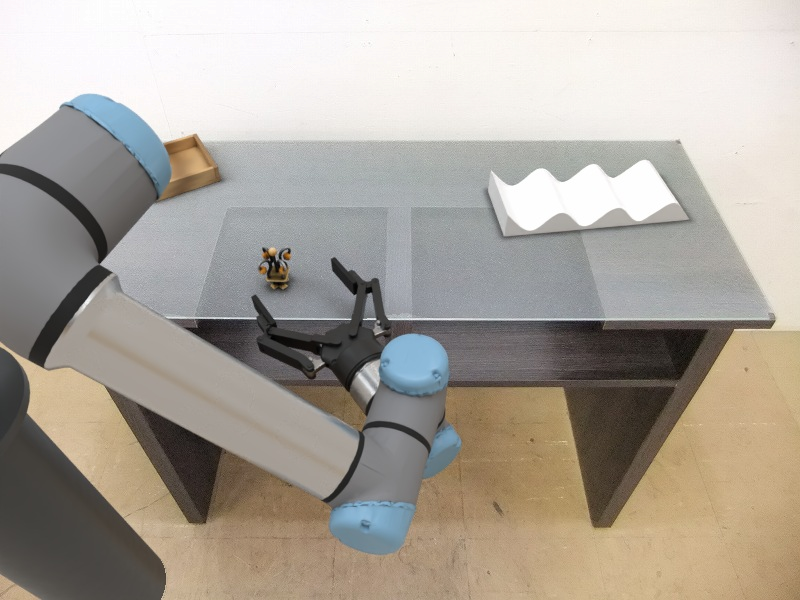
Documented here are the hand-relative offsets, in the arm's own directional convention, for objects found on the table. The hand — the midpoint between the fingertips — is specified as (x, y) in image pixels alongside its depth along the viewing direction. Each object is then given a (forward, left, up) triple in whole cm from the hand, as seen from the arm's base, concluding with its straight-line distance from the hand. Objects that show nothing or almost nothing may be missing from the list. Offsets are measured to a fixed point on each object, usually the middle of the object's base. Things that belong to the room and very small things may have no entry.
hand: (295, 281), depth 92 cm
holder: (-7, +46, -7) cm, 47 cm away
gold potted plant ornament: (-1, +7, -7) cm, 10 cm away
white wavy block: (+57, -4, -7) cm, 58 cm away
